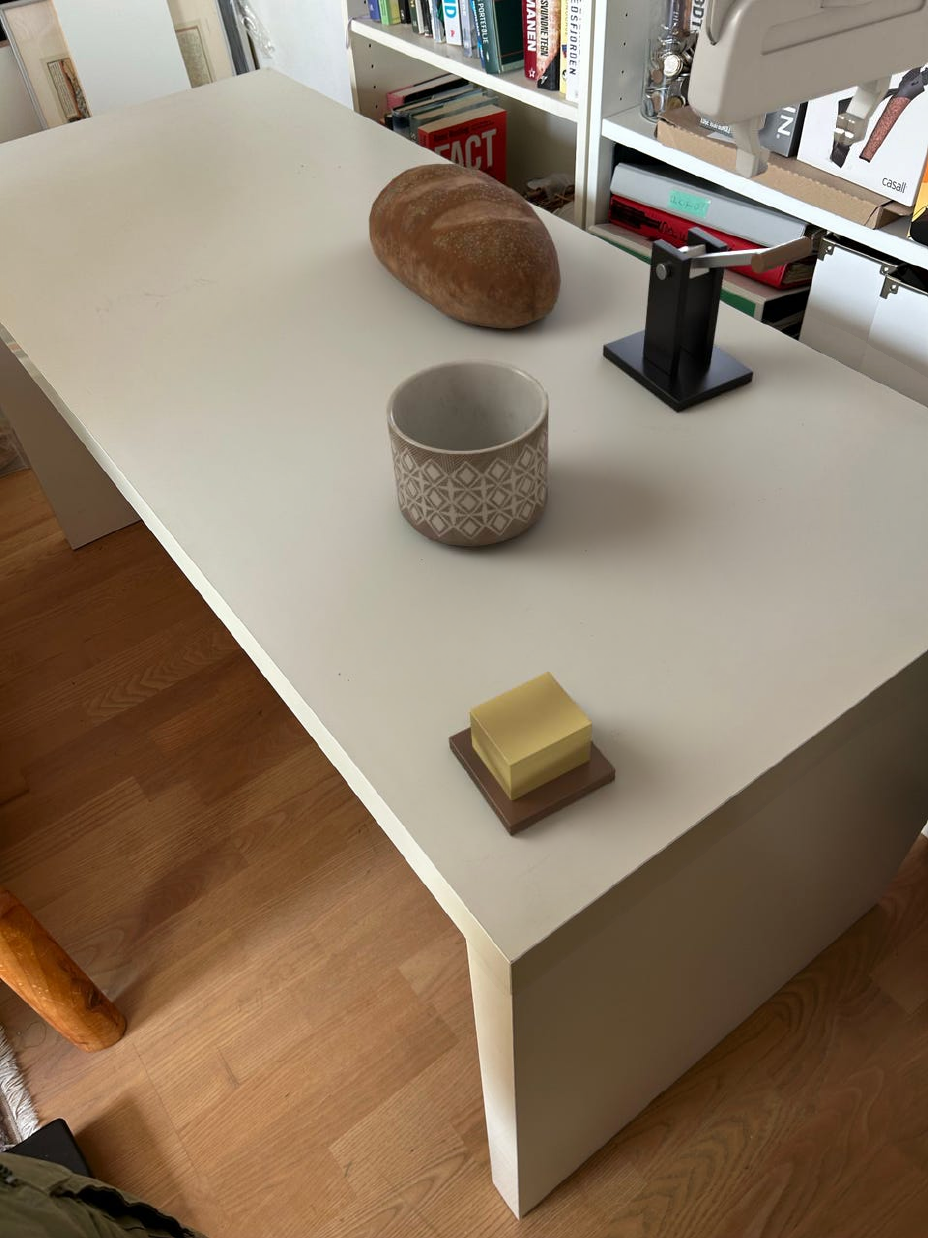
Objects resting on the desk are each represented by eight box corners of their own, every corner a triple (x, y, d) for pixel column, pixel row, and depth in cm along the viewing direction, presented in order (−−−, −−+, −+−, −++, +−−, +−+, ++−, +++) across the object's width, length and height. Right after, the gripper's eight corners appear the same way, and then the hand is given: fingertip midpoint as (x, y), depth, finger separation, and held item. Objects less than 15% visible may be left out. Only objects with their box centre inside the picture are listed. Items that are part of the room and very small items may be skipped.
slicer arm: (814, 260, 77) (811, 229, 76) (766, 279, 76) (761, 247, 75) (702, 268, 89) (697, 241, 88) (658, 284, 88) (653, 257, 87)
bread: (472, 356, 99) (466, 249, 90) (342, 250, 116) (327, 153, 108) (595, 307, 104) (599, 202, 95) (453, 213, 121) (446, 117, 113)
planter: (440, 447, 88) (431, 346, 81) (569, 479, 84) (572, 376, 77) (373, 533, 81) (356, 431, 73) (512, 572, 77) (508, 469, 69)
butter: (615, 780, 63) (620, 732, 59) (510, 836, 61) (508, 791, 57) (548, 698, 68) (549, 650, 64) (449, 747, 66) (443, 700, 62)
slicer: (752, 382, 93) (775, 254, 83) (677, 413, 90) (692, 284, 81) (674, 328, 100) (687, 205, 91) (602, 355, 97) (608, 232, 88)
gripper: (748, -26, 56) (716, 210, 66) (996, -88, 62) (932, 136, 72) (680, -47, 60) (659, 179, 70) (920, -104, 66) (869, 111, 76)
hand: (800, 157), depth 71 cm, fingers open, 8 cm apart
